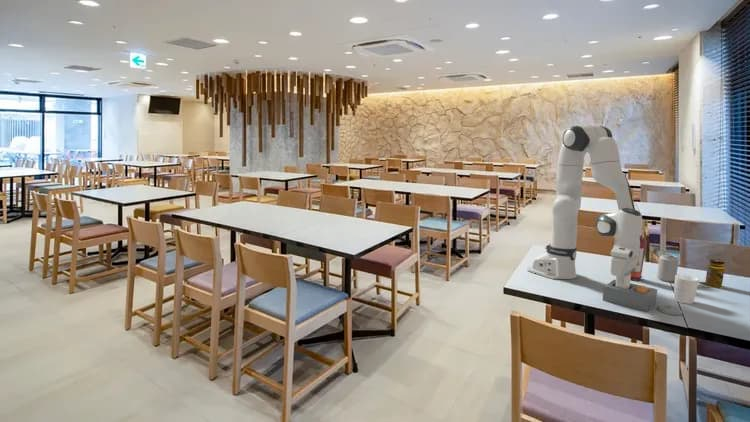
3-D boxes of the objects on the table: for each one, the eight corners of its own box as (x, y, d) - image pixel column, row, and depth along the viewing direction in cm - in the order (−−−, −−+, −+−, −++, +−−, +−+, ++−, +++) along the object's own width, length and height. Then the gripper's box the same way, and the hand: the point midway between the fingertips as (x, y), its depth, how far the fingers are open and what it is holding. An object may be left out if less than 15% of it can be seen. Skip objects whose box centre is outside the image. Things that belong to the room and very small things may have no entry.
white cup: (672, 296, 185) (675, 273, 183) (695, 300, 181) (698, 276, 179) (671, 301, 179) (674, 278, 177) (695, 306, 174) (699, 282, 172)
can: (678, 283, 202) (682, 257, 199) (660, 281, 203) (664, 256, 201) (671, 277, 209) (674, 253, 207) (654, 276, 210) (657, 252, 208)
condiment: (725, 289, 194) (729, 263, 192) (703, 287, 197) (706, 261, 194) (718, 284, 201) (722, 258, 199) (696, 282, 203) (700, 257, 201)
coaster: (655, 311, 169) (655, 309, 169) (660, 305, 174) (660, 304, 174) (679, 317, 163) (679, 315, 163) (684, 311, 169) (685, 310, 168)
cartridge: (612, 299, 180) (615, 271, 178) (616, 296, 183) (619, 269, 181) (625, 303, 177) (628, 274, 174) (629, 300, 180) (632, 271, 178)
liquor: (644, 279, 206) (651, 220, 202) (639, 282, 202) (646, 222, 197) (627, 275, 212) (634, 218, 207) (622, 278, 207) (628, 220, 202)
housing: (602, 300, 179) (604, 286, 178) (612, 293, 188) (614, 279, 187) (646, 311, 168) (648, 296, 167) (655, 303, 176) (657, 289, 175)
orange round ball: (634, 297, 175) (635, 286, 174) (636, 295, 177) (638, 284, 176) (644, 300, 172) (646, 289, 171) (647, 297, 174) (648, 287, 174)
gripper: (626, 243, 186) (622, 274, 188) (609, 252, 172) (605, 285, 174) (643, 246, 181) (639, 278, 184) (627, 255, 167) (623, 289, 170)
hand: (622, 282), depth 179 cm, fingers open, 5 cm apart
